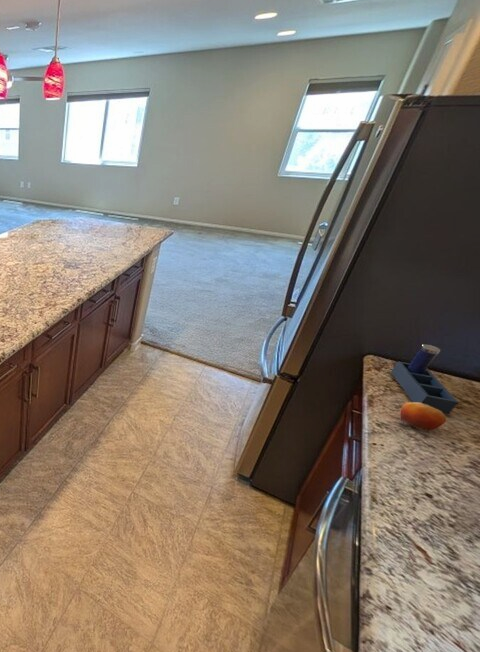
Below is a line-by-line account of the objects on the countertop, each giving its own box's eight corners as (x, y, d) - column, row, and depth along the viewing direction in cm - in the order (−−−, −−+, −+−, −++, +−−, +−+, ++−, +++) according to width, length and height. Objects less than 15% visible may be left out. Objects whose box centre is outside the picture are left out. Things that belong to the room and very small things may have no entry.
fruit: (396, 423, 105) (411, 398, 104) (390, 422, 111) (405, 397, 110) (439, 440, 100) (455, 413, 99) (431, 437, 106) (446, 412, 105)
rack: (417, 377, 124) (425, 366, 121) (448, 414, 110) (458, 402, 107) (390, 372, 126) (397, 361, 124) (417, 407, 112) (426, 396, 110)
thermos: (414, 376, 123) (436, 346, 117) (420, 383, 120) (443, 352, 114) (398, 373, 124) (419, 343, 118) (404, 380, 121) (426, 349, 115)
